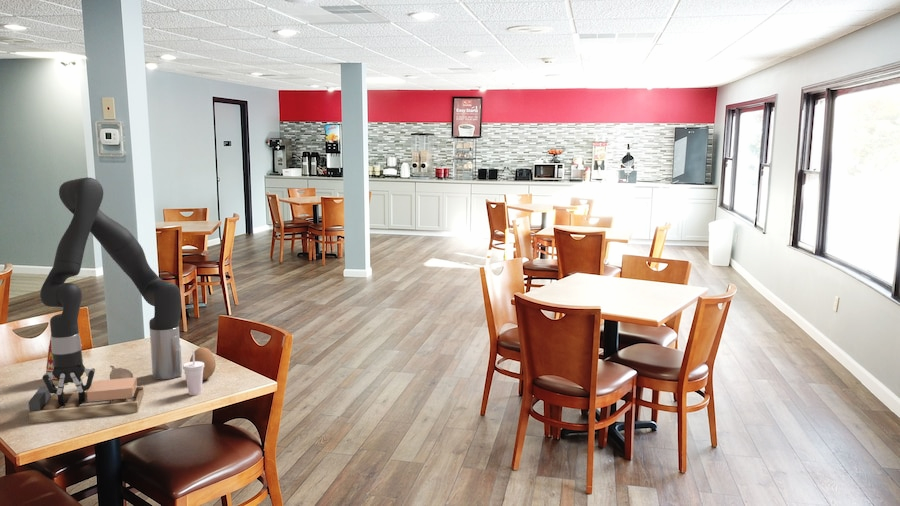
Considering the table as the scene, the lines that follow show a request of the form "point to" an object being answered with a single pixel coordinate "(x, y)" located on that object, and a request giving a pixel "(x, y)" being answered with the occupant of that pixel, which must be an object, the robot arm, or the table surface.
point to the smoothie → (194, 376)
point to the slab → (112, 389)
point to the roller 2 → (73, 401)
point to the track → (87, 409)
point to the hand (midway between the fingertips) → (72, 404)
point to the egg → (205, 361)
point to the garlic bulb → (120, 373)
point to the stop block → (39, 399)
